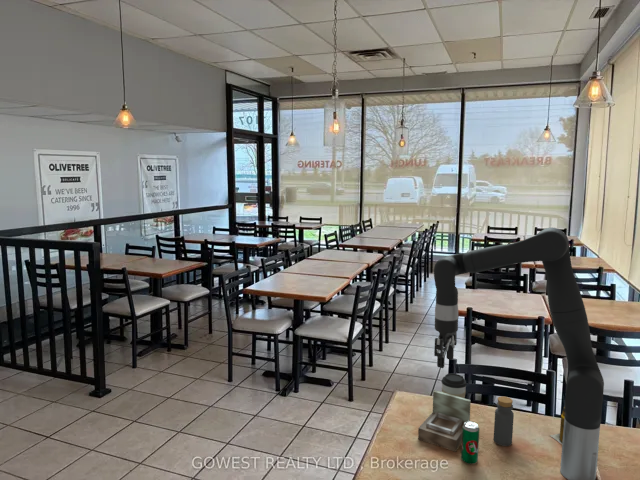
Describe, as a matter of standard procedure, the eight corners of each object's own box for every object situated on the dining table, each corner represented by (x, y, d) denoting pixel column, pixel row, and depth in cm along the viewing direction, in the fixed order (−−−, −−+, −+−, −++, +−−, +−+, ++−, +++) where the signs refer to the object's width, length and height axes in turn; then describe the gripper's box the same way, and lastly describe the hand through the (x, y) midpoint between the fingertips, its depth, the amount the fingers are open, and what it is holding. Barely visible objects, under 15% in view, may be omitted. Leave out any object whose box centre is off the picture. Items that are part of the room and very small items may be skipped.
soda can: (464, 453, 152) (466, 418, 150) (480, 459, 149) (482, 424, 147) (458, 460, 148) (459, 425, 146) (474, 467, 145) (475, 430, 143)
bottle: (513, 447, 156) (516, 404, 153) (494, 445, 157) (497, 402, 155) (510, 437, 161) (512, 396, 159) (492, 435, 162) (494, 394, 160)
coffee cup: (439, 418, 174) (441, 379, 172) (440, 406, 182) (442, 369, 180) (465, 422, 171) (466, 383, 169) (465, 410, 180) (466, 372, 178)
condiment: (568, 449, 154) (571, 415, 153) (549, 435, 162) (551, 403, 161) (586, 445, 157) (589, 411, 155) (566, 432, 165) (568, 400, 163)
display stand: (469, 432, 164) (470, 400, 163) (455, 451, 153) (457, 417, 151) (433, 421, 172) (434, 390, 170) (418, 439, 160) (419, 405, 159)
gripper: (449, 323, 148) (448, 373, 151) (464, 312, 160) (463, 358, 162) (427, 320, 153) (426, 367, 155) (443, 309, 164) (442, 354, 166)
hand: (445, 363), depth 158 cm, fingers open, 8 cm apart
